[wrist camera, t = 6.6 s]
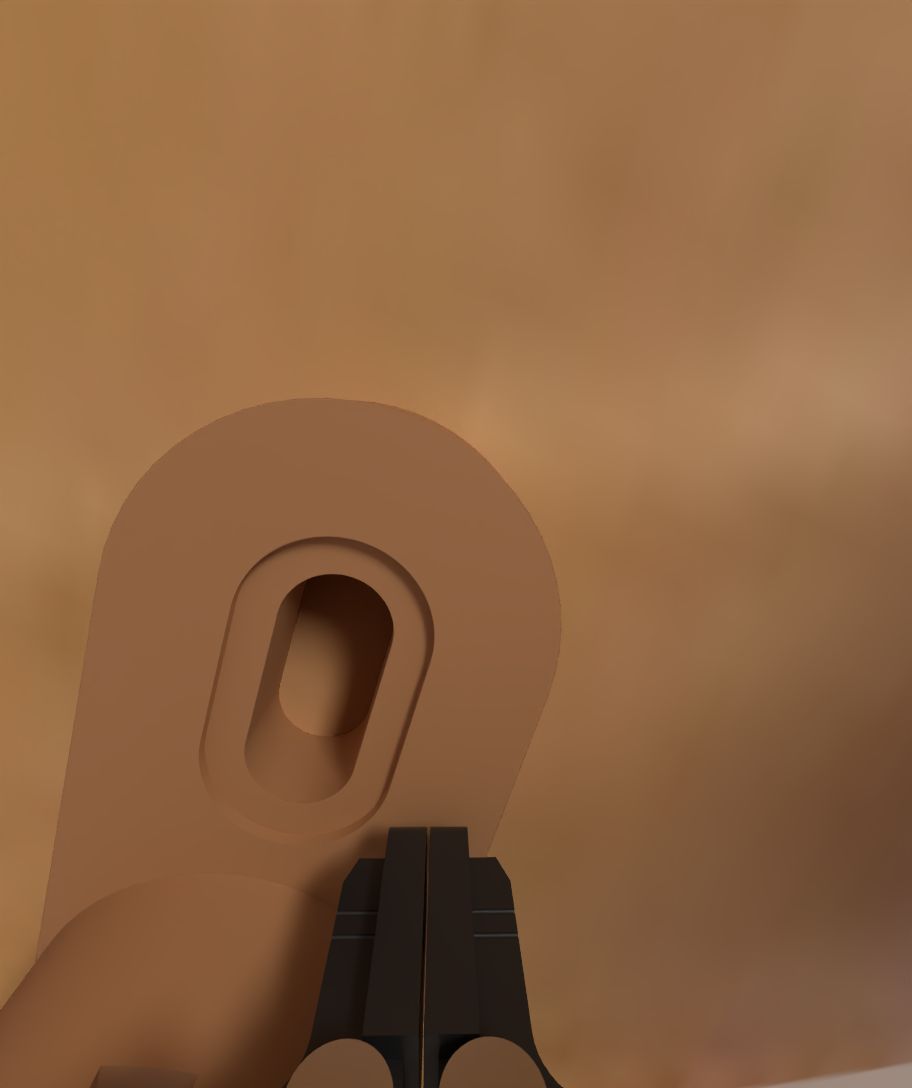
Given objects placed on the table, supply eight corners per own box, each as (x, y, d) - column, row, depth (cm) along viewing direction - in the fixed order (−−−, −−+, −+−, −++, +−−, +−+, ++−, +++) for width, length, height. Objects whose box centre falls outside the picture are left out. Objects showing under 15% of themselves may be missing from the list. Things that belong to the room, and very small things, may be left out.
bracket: (373, 1055, 16) (322, 1524, 9) (85, 997, 15) (-197, 1460, 9) (588, 467, 12) (771, 542, 5) (210, 348, 11) (-137, 258, 5)
